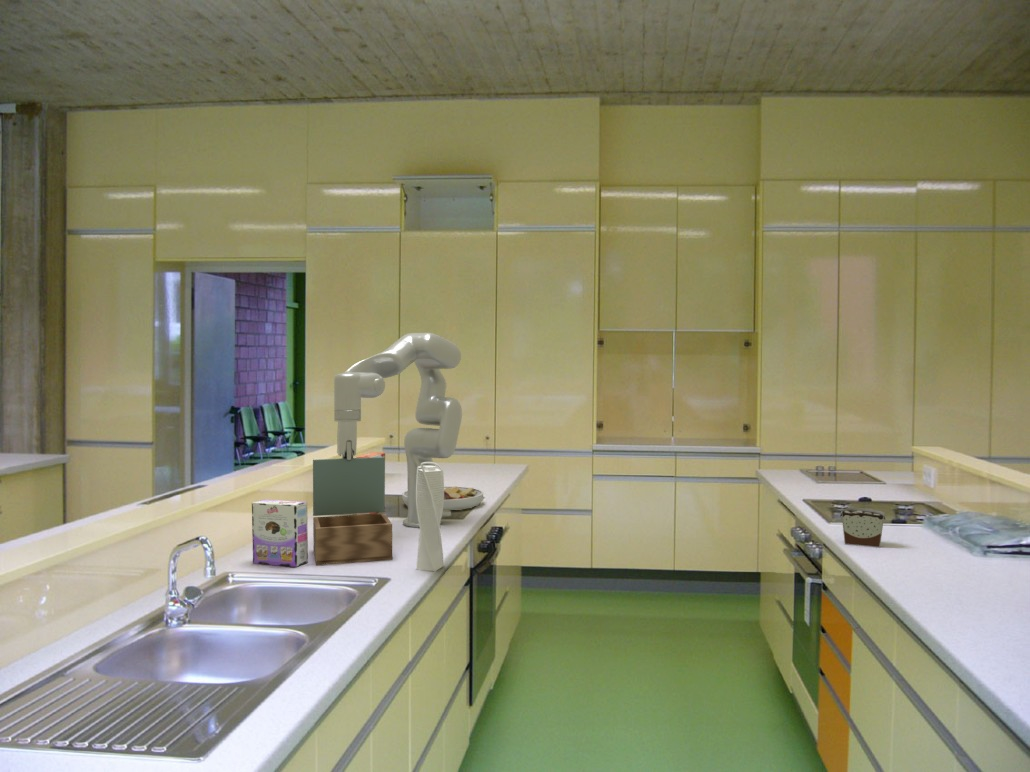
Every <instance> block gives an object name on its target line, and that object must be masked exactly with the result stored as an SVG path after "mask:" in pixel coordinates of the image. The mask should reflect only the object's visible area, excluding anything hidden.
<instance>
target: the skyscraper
mask: <svg viewBox="0 0 1030 772" xmlns="http://www.w3.org/2000/svg"><path fill="white" fill-rule="evenodd" d="M423 464H434V465H435V466H431V465H425V466H423ZM424 467H425V469H424ZM419 468H422V469H419ZM444 481H445V479H444V469H443V468H442V466H441V465H440V464H439V463H437V462H435V461H433V462H423V463H421V466H419V467H417V476H416V508H417V516H418V522H419V527H418V528H419V537H418V547H417V559H416V560H417V561H416V570H418V571H419V570H420V571H428V572H436V571H437V570H439V569H441V568H444V567H445V562H444V552H443V543H442V542H443V541H442V534H441V533H442V532H441V527H440V525H441V524H440V522H441V523H442V518H443V517H442V512H443V504H444V487H445V482H444ZM441 517H442V518H441Z"/></svg>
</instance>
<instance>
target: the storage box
mask: <svg viewBox="0 0 1030 772" xmlns="http://www.w3.org/2000/svg"><path fill="white" fill-rule="evenodd" d="M312 520H313V521H312V522H313V523H312V524H313V525H312V526H313V527H312V529H313V534H312V535H313V537H312V539H313V543H312V544H313V545H312V546H313V554H314V560H315V565H316V566H320V565H332V564H333V565H334V564H346V563H348V564H349V563H361V562H373V561H387V560H388V561H389V560H393V523H392V521H391V520H390V519H389V518H388V516H387V514H386V513H385V512H378V513H376V514H361V515H356V514H342V515H324V516H313V517H312Z"/></svg>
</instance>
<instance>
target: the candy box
mask: <svg viewBox="0 0 1030 772" xmlns="http://www.w3.org/2000/svg"><path fill="white" fill-rule="evenodd" d="M251 522H252V523H251V524H252V526H251V529H252V531H251V533H252V536H251V537H252V563H253V564H255V563H256V565H257V564H258V565H268V566H278V567H279V566H280V567H291V568H295V567H296V568H297V567H299V566H301V565H304V564H307V563H308V562H309V547H308V546H309V545H308V543H309V542H308V539H309V535H308V529H309V528H308V527H309V526H308V502H307V501H298V500H297V501H296V500H281V499H280V500H279V499H262V500H258V501H253V502H251Z"/></svg>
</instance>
